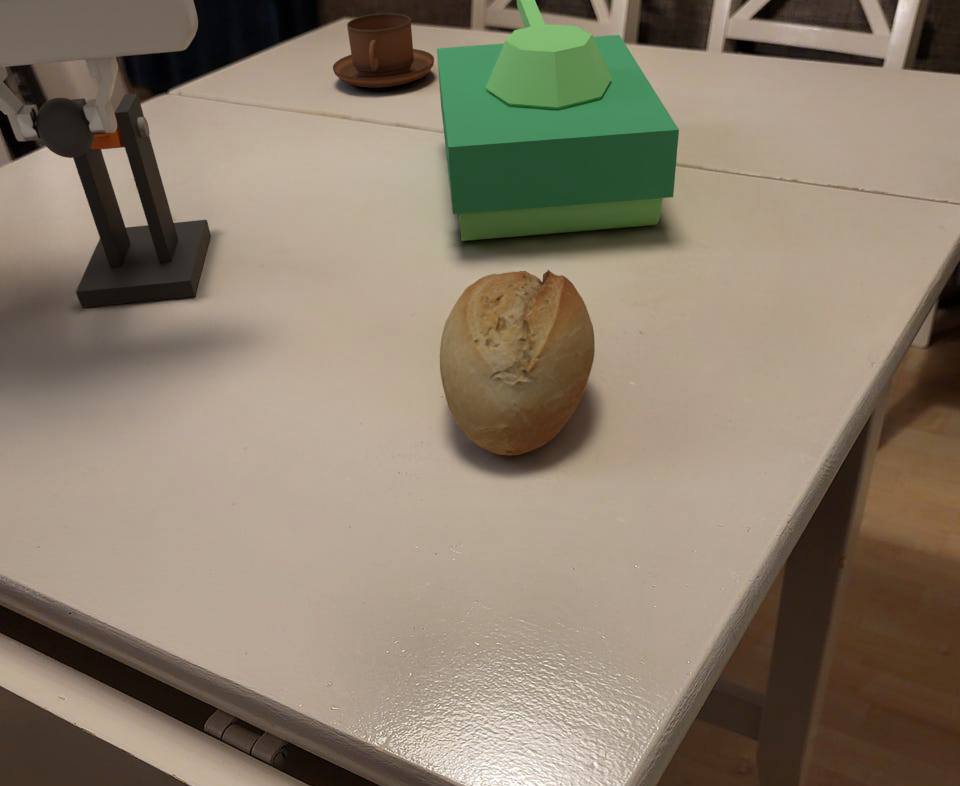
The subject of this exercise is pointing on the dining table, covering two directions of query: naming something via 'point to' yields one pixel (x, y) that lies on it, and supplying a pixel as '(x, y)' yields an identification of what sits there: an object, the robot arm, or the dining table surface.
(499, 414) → the bread roll
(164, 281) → the stand with upright posts
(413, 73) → the cup and saucer
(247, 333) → the dining table surface
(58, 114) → the pendulum
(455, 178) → the toy tank
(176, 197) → the dining table surface
